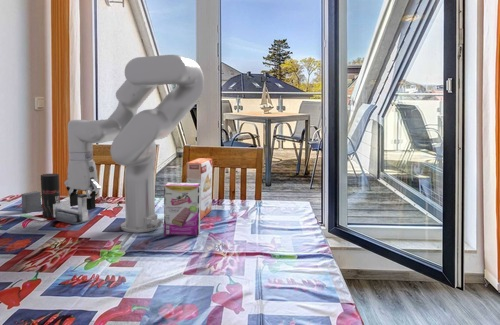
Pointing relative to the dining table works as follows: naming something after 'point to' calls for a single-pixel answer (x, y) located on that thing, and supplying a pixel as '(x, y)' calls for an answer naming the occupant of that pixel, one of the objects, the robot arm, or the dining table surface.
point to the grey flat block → (31, 202)
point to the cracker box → (202, 181)
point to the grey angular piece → (65, 207)
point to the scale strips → (39, 218)
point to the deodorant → (49, 193)
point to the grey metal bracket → (68, 218)
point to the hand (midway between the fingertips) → (82, 207)
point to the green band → (27, 216)
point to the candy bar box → (182, 208)
